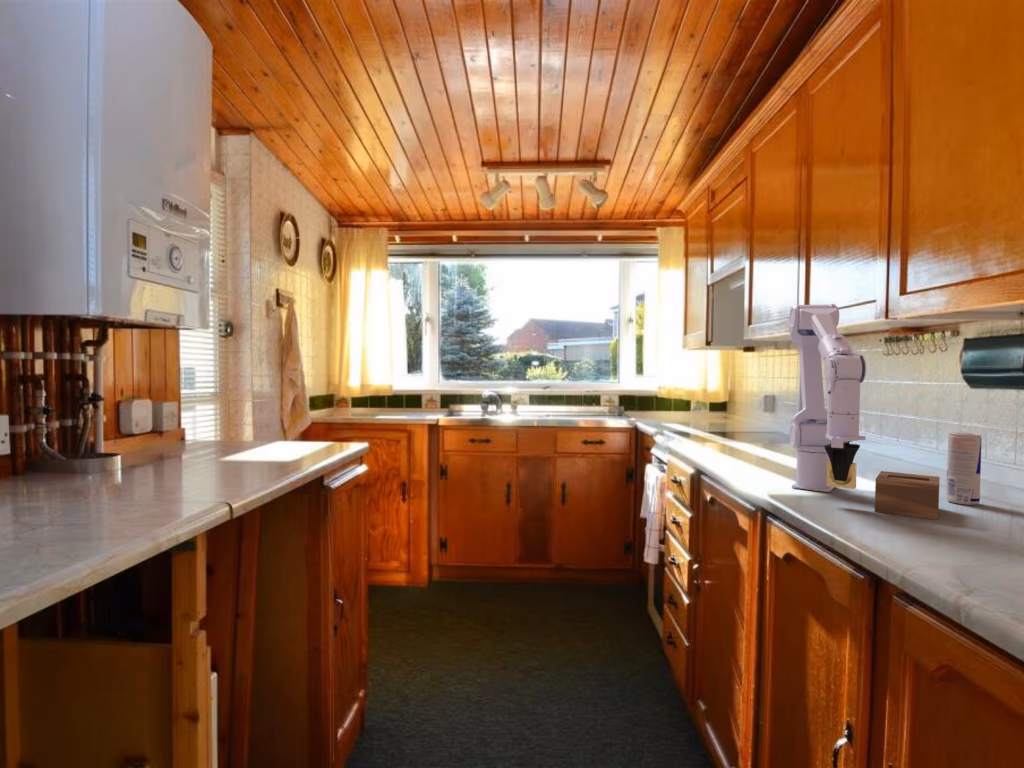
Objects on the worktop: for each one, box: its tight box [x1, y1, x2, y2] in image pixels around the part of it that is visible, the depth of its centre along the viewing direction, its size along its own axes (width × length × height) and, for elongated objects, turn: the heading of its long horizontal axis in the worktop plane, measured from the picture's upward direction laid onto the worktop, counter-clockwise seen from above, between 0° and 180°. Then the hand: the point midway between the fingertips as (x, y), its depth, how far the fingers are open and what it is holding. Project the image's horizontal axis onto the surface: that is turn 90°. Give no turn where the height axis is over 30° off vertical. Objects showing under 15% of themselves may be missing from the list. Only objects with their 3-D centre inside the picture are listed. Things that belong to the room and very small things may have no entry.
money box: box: [874, 470, 941, 521], centre depth 114 cm, size 12×10×6 cm
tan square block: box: [827, 461, 857, 490], centre depth 117 cm, size 2×5×5 cm, turn 53°
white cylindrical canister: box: [945, 431, 982, 506], centre depth 122 cm, size 6×6×15 cm
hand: (841, 479), depth 117 cm, fingers closed on tan square block, 2 cm apart
